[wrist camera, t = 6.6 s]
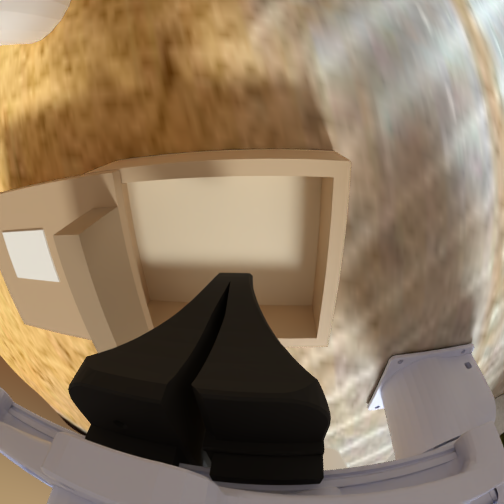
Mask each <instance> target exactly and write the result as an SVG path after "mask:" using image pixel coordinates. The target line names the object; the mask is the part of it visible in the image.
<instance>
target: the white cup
mask: <svg viewBox="0 0 504 504" xmlns="http://www.w3.org/2000/svg"><path fill="white" fill-rule="evenodd" d="M70 1H71V0H0V45H12V44H31V43H34V42H37V41H40V40H42V39H43V38H44V37H45V36H47V35H48V34H49V33H51V31H52V30H53V29H54V28H55V27H56V25H57V24H58V23H59V22H60V21H61V19H62V17H63V16H64V14H65V12H66V11H67V9H68V7H69V5H70Z"/></svg>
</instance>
